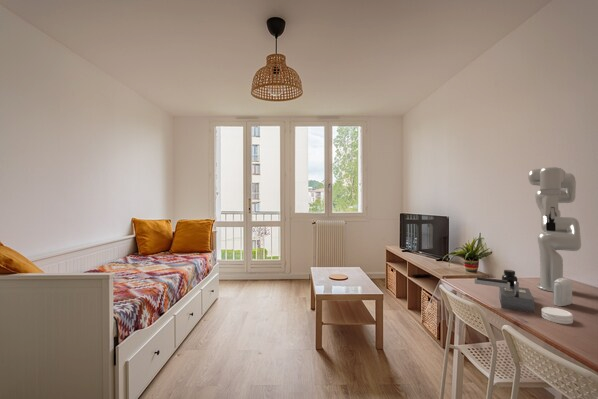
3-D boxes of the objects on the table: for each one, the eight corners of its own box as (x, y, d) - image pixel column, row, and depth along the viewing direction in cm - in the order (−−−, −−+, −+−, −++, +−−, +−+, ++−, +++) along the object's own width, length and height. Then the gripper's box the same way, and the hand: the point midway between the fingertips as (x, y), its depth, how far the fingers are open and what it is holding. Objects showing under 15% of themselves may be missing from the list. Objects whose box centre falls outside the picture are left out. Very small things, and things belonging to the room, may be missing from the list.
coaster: (541, 312, 127) (541, 305, 127) (572, 318, 121) (572, 310, 121) (540, 320, 120) (540, 311, 120) (573, 327, 113) (573, 318, 113)
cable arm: (474, 283, 140) (474, 277, 140) (475, 282, 142) (474, 276, 142) (510, 288, 132) (509, 281, 132) (509, 286, 134) (509, 280, 134)
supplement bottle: (520, 295, 149) (520, 272, 149) (505, 294, 150) (505, 272, 150) (513, 291, 156) (513, 269, 156) (499, 290, 157) (499, 268, 157)
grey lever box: (499, 296, 148) (498, 272, 148) (528, 300, 142) (528, 275, 142) (501, 307, 133) (500, 281, 133) (534, 313, 126) (533, 285, 126)
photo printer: (562, 300, 140) (562, 276, 140) (573, 303, 136) (573, 278, 136) (551, 304, 136) (551, 278, 136) (562, 307, 132) (562, 281, 132)
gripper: (537, 193, 146) (538, 228, 147) (543, 193, 134) (543, 232, 134) (557, 192, 142) (557, 229, 142) (564, 192, 130) (565, 232, 130)
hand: (550, 230), depth 138 cm, fingers closed
